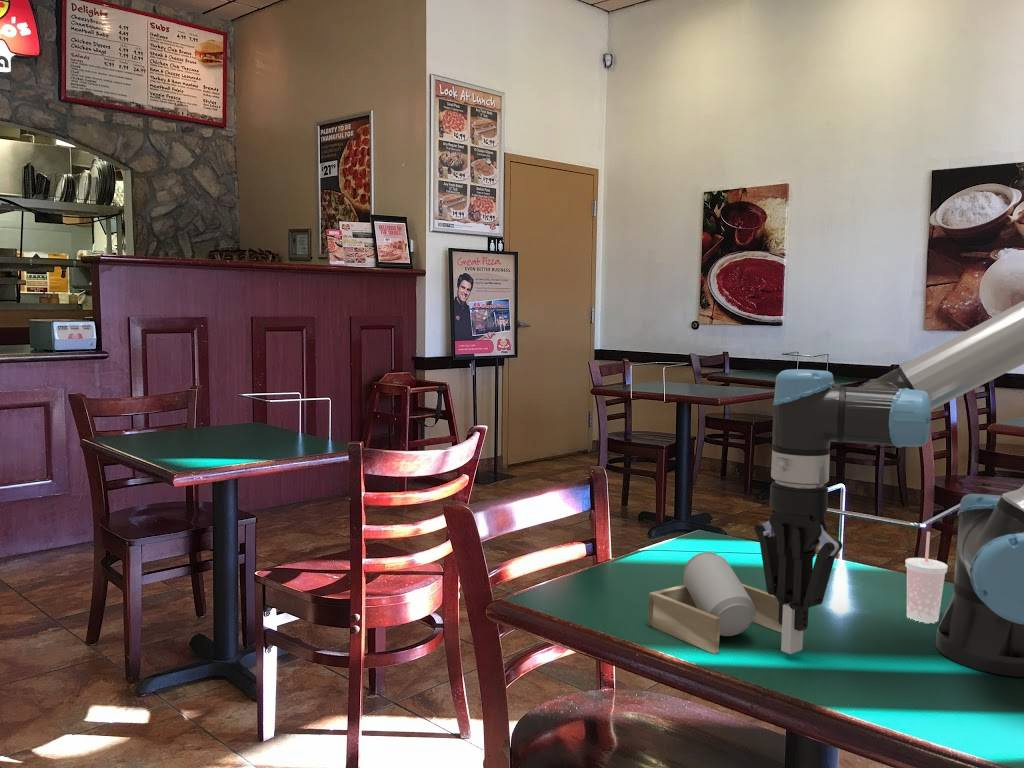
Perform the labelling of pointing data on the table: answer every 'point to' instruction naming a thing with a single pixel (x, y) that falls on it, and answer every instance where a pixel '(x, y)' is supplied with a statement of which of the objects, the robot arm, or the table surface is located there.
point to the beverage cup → (924, 587)
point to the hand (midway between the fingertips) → (791, 650)
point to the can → (719, 592)
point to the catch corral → (703, 616)
